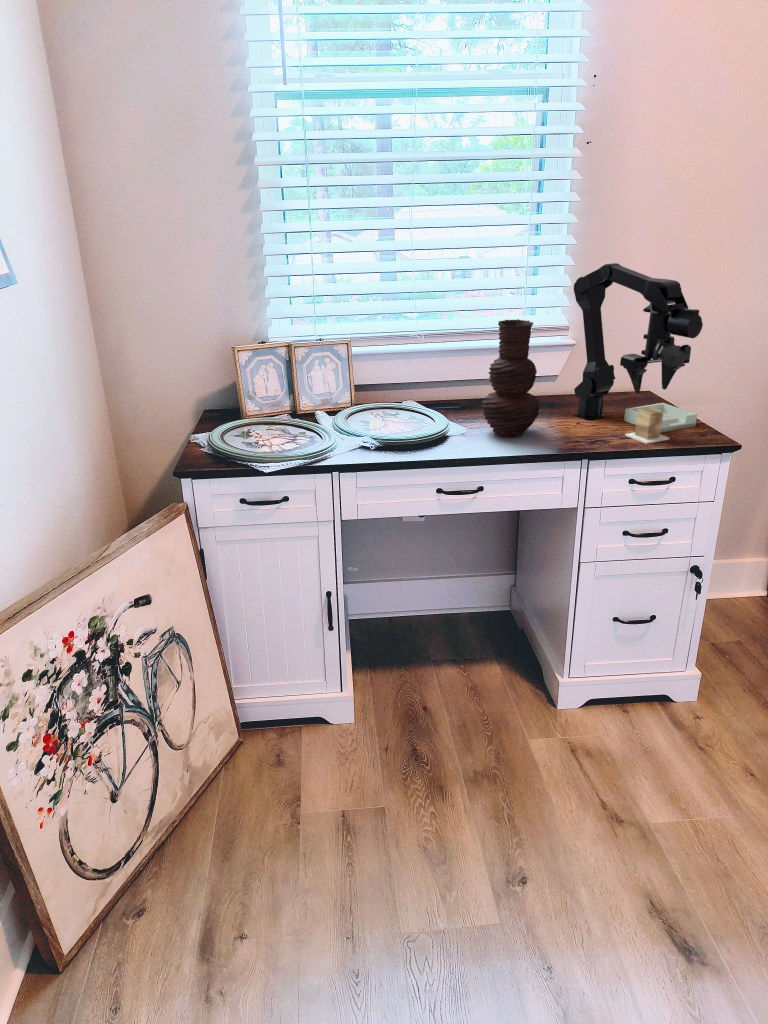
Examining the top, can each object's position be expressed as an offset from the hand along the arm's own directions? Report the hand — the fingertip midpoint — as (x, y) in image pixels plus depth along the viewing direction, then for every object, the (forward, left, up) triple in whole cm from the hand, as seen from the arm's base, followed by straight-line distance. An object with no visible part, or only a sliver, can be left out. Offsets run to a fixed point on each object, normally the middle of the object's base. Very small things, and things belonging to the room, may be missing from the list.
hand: (650, 391), depth 200 cm
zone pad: (-1, -2, -12) cm, 12 cm away
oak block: (-1, -2, -12) cm, 12 cm away
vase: (-32, +17, -12) cm, 39 cm away
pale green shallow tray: (+11, +6, -12) cm, 17 cm away
